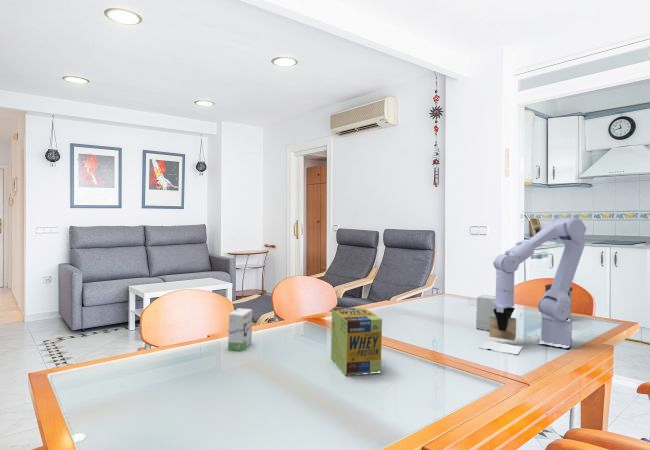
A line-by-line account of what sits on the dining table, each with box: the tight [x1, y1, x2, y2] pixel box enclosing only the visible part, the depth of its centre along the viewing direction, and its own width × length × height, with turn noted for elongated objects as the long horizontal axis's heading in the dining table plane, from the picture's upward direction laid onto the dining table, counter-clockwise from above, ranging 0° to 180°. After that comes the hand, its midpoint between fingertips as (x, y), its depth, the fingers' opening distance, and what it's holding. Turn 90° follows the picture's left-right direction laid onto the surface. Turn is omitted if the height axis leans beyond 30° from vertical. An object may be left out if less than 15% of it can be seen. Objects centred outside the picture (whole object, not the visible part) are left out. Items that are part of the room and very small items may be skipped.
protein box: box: [330, 307, 383, 377], centre depth 127 cm, size 10×15×16 cm
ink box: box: [227, 307, 253, 352], centre depth 143 cm, size 9×5×12 cm, turn 168°
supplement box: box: [475, 294, 497, 331], centre depth 169 cm, size 7×7×13 cm
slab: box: [488, 315, 517, 342], centre depth 149 cm, size 8×3×7 cm, turn 57°
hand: (503, 329), depth 149 cm, fingers closed on slab, 3 cm apart
